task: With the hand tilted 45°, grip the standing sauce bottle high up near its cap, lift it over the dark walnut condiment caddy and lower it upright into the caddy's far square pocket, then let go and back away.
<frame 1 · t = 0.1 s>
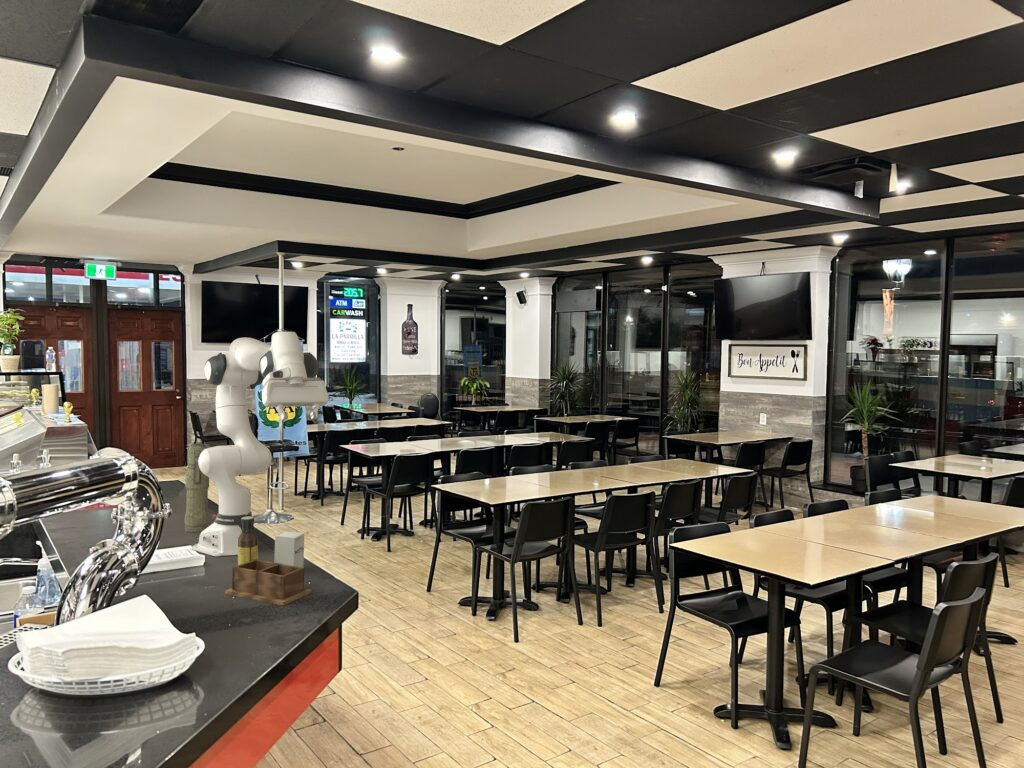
hand: (300, 418, 224), 54 cm above the counter, tool tilted 30°, fingers open, 8 cm apart
supplement box: (288, 571, 249), on the counter
condiment caddy: (268, 593, 226), on the counter
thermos: (196, 530, 296), on the counter
sauce bottle: (247, 578, 240), on the counter
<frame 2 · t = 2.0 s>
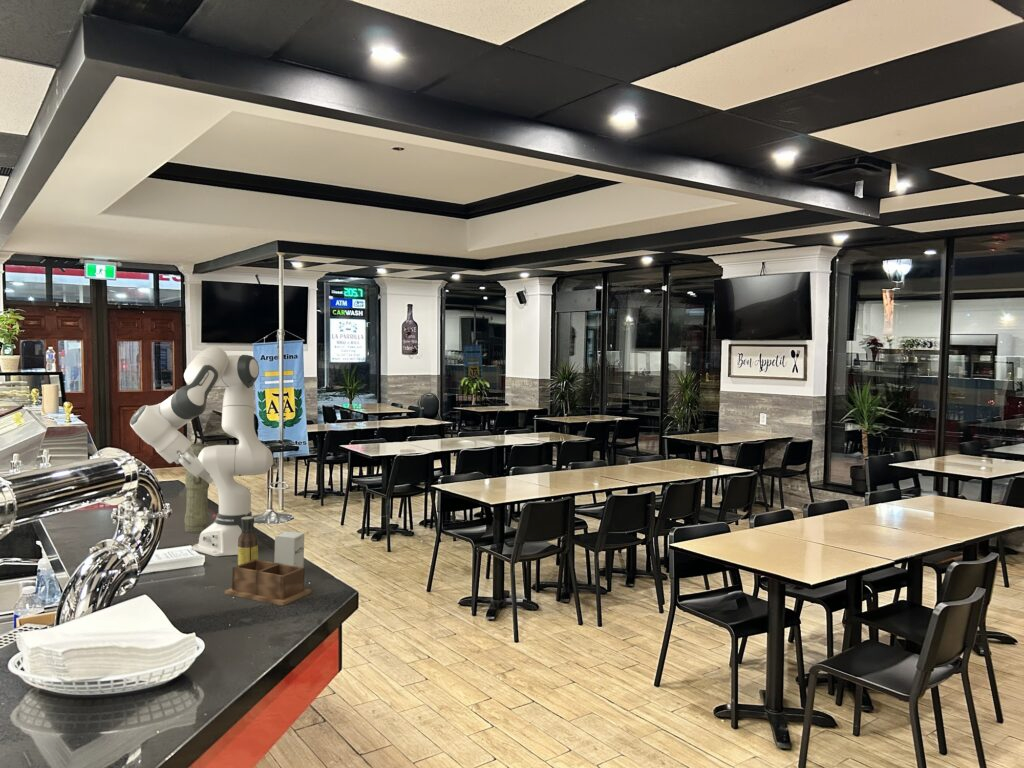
hand: (209, 479, 233), 33 cm above the counter, tool tilted 45°, fingers open, 8 cm apart
nothing on the counter moved.
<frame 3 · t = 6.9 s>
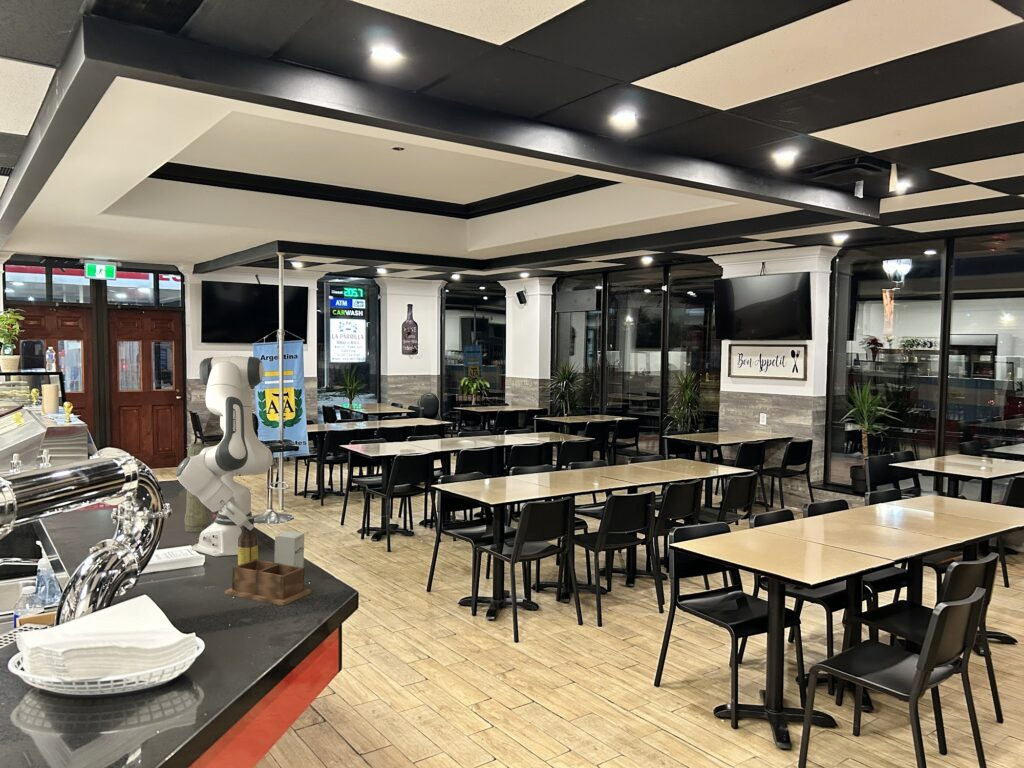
hand: (250, 526, 240), 17 cm above the counter, tool tilted 45°, fingers closed on sauce bottle, 4 cm apart
sauce bottle: (247, 578, 240), on the counter, touching gripper
everything else where it was.
when the fingers open (23 cm above the counter, at t = 13.9 s): sauce bottle drops 3 cm, resting on condiment caddy.
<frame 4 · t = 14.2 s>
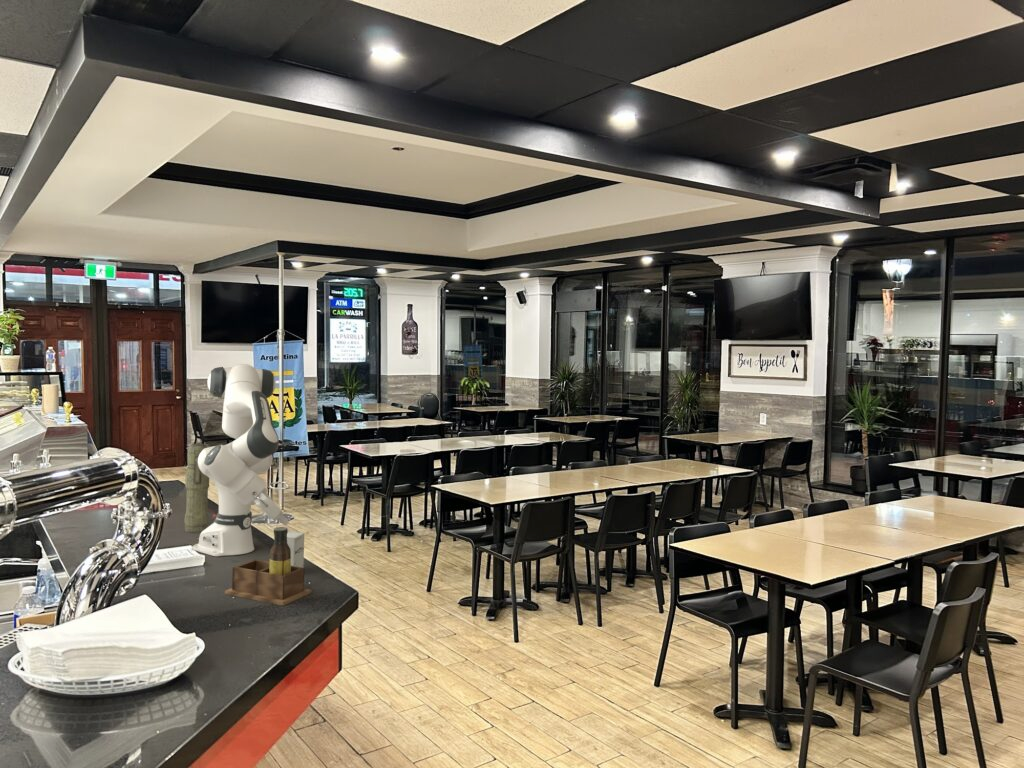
hand: (283, 519, 223), 23 cm above the counter, tool tilted 45°, fingers open, 7 cm apart
sauce bottle: (279, 592, 224), point 1 cm above the counter, touching condiment caddy
everything else where it was.
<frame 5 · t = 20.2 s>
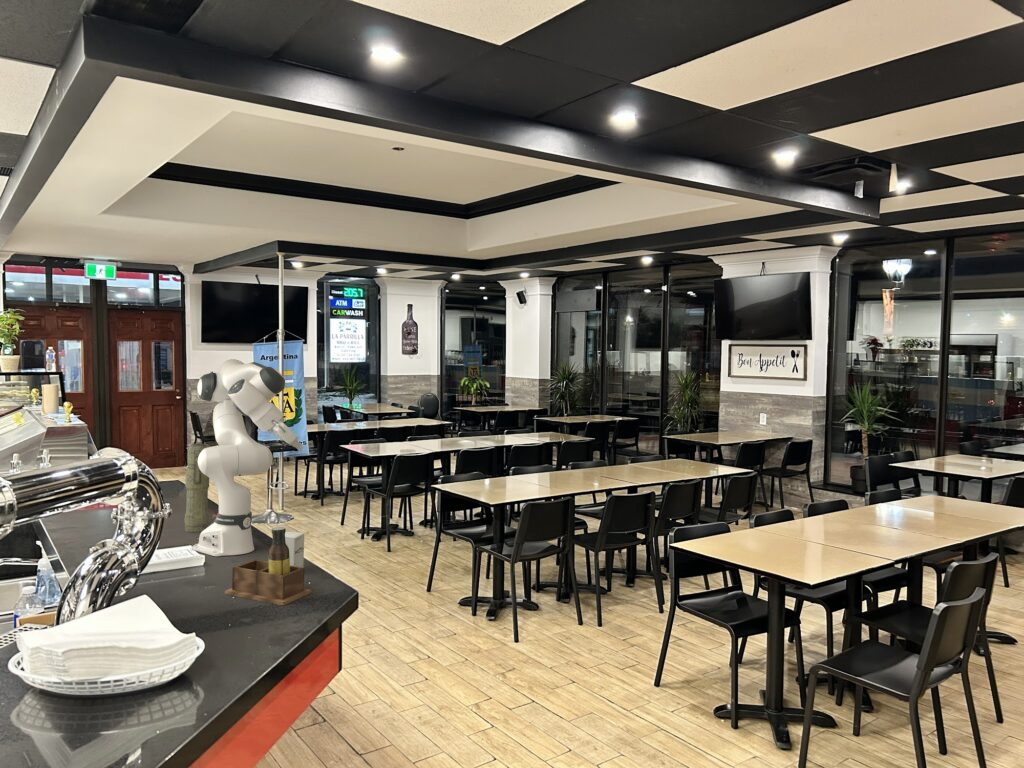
hand: (298, 447, 252), 41 cm above the counter, tool tilted 45°, fingers open, 8 cm apart
at the end: sauce bottle 0.3 cm from the target spot on the condiment caddy, point 0.8 cm above the condiment caddy's base; sauce bottle tilted 1°; the gripper is holding nothing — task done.
